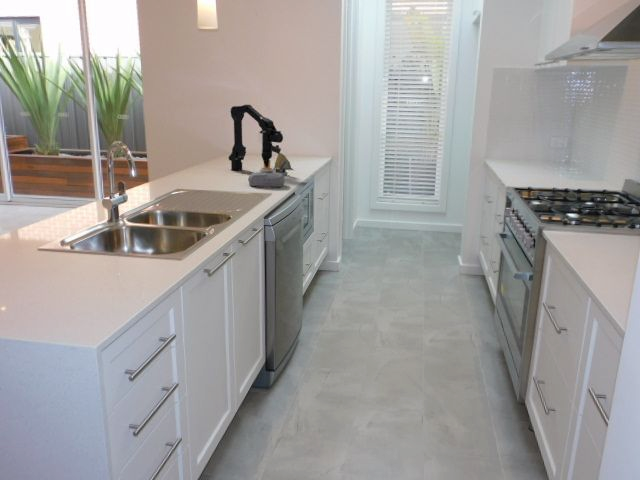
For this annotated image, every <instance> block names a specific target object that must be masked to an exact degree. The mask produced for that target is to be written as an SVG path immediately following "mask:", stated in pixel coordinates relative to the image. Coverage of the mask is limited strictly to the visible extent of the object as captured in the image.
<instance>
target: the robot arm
mask: <svg viewBox="0 0 640 480" xmlns="http://www.w3.org/2000/svg"><path fill="white" fill-rule="evenodd" d="M245 114H248V115H249V116H250V117H252V119H253V120H254V121H256V122H257V123H258V126H259V128H261V130H260V131H259V134H262V136H261V137H262V138H261V139H262V142H261V158H262V162H263V165H264V164H265V166H266V168H268V164H269V160H271V159H272V158H273V153H276V154H277V155H278V154H279V153H281V150H282V148H281V147H280V145H277V144H278V143H282V142H283V140H284V136H283V135H284V134H283V133H282V131H280V130H277V128H276V127H275V125H274V121H273V120H271V119H270V118H268V117H265V116H263V115H262V114H261V112H259V111H257V110H256V109H255V108H254V107H253V106H252V105H251V104H244V105H234V106H231V108H230V116H231V118H232V120H233V137H234V138H233V139H234V142H233V143H234V144H233V146H232V148H231V153H230V154H229V155H228V161H230V163H231V165H230V166H231V167H230V168H231V169H230V171H242V170H243V160H245V159H244V158H245V156H246V154H247V151H246V150H247V147H246V146H244V145H243V120H244V117H245ZM273 143H277V144H276V145H273Z"/></svg>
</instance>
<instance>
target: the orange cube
mask: <svg viewBox="0 0 640 480" xmlns="http://www.w3.org/2000/svg"><path fill="white" fill-rule="evenodd" d="M263 168H264V169H270V168H271V159H269V164H268V168H266V166H265V164H264V163H263Z"/></svg>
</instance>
